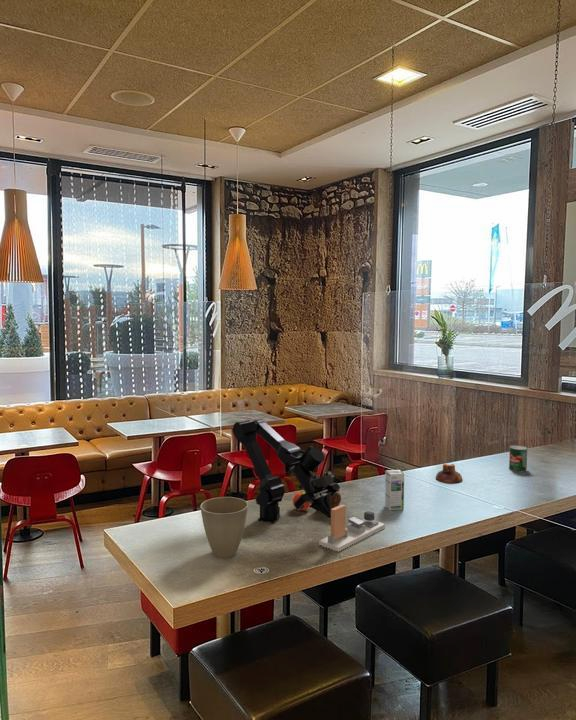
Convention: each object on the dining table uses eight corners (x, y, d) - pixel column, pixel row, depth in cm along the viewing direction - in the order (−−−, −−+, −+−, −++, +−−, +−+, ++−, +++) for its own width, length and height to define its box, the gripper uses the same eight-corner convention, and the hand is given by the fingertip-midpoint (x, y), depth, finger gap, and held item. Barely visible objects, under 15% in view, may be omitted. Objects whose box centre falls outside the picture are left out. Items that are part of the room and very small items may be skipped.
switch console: (319, 545, 187) (319, 533, 187) (366, 522, 207) (366, 511, 207) (338, 552, 182) (338, 540, 182) (384, 528, 202) (385, 517, 201)
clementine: (310, 505, 224) (310, 488, 223) (315, 512, 217) (315, 494, 217) (290, 507, 222) (290, 489, 222) (294, 513, 216) (294, 495, 215)
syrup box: (389, 510, 219) (390, 473, 218) (384, 505, 225) (385, 469, 223) (403, 510, 220) (404, 473, 218) (398, 504, 226) (399, 468, 224)
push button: (362, 518, 201) (362, 513, 201) (367, 516, 204) (367, 510, 204) (370, 521, 199) (370, 515, 198) (376, 518, 201) (376, 513, 201)
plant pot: (192, 550, 183) (192, 502, 181) (233, 540, 191) (233, 493, 190) (214, 568, 171) (214, 516, 169) (257, 556, 179) (256, 506, 178)
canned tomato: (526, 468, 276) (527, 446, 275) (526, 472, 269) (527, 450, 268) (509, 466, 280) (510, 444, 279) (508, 470, 273) (509, 448, 271)
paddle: (330, 540, 186) (330, 509, 185) (341, 535, 191) (342, 504, 190) (334, 542, 185) (334, 510, 184) (345, 536, 190) (345, 505, 189)
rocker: (348, 522, 196) (348, 519, 195) (353, 520, 198) (353, 516, 198) (358, 528, 193) (359, 524, 193) (363, 525, 195) (364, 522, 195)
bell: (431, 480, 258) (431, 464, 257) (442, 474, 267) (443, 459, 267) (455, 485, 251) (456, 469, 250) (466, 479, 260) (467, 463, 259)
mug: (348, 515, 214) (348, 491, 213) (330, 519, 210) (331, 494, 209) (332, 505, 224) (332, 482, 223) (315, 508, 221) (315, 484, 220)
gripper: (300, 471, 185) (327, 512, 178) (336, 459, 198) (362, 497, 192) (283, 489, 191) (308, 530, 184) (318, 477, 204) (343, 514, 198)
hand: (331, 517), depth 189 cm, fingers closed
